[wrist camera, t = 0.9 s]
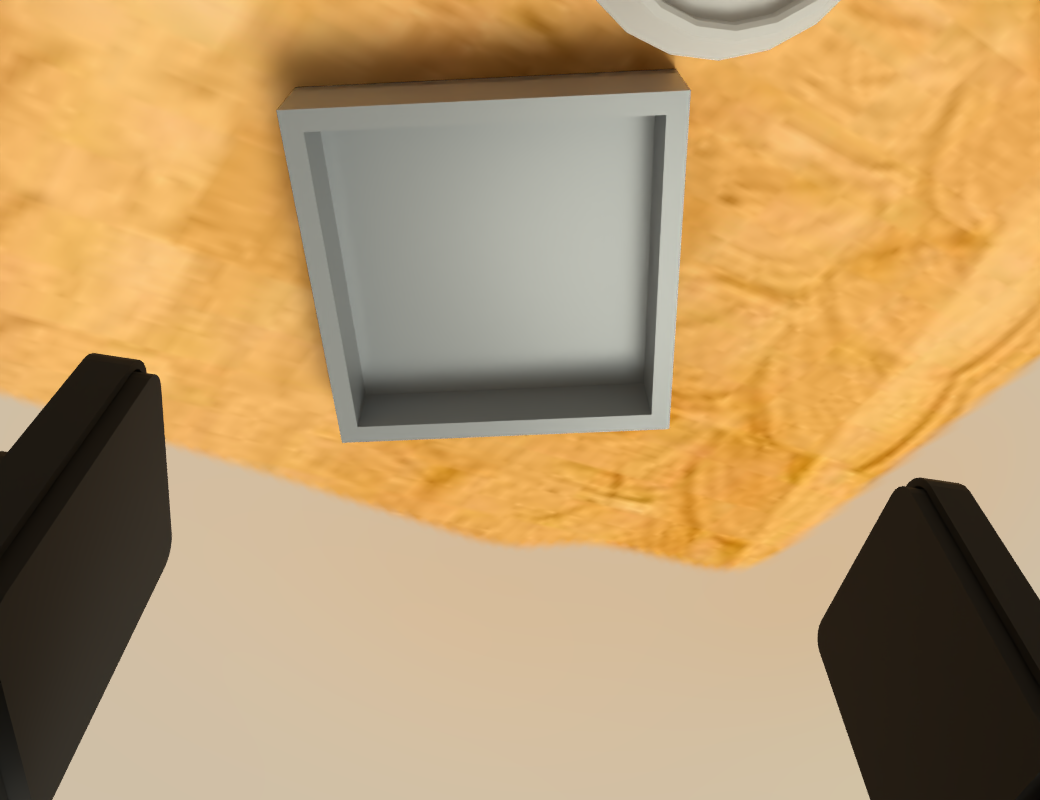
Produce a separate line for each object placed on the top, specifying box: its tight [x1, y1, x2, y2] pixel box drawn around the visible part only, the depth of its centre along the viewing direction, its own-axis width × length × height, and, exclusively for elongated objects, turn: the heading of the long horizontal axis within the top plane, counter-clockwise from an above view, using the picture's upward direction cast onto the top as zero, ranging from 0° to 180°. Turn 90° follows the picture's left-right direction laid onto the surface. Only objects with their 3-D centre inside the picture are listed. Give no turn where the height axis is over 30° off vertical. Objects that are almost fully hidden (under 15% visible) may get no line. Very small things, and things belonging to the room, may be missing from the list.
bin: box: [276, 69, 691, 443], centre depth 33 cm, size 14×14×3 cm
